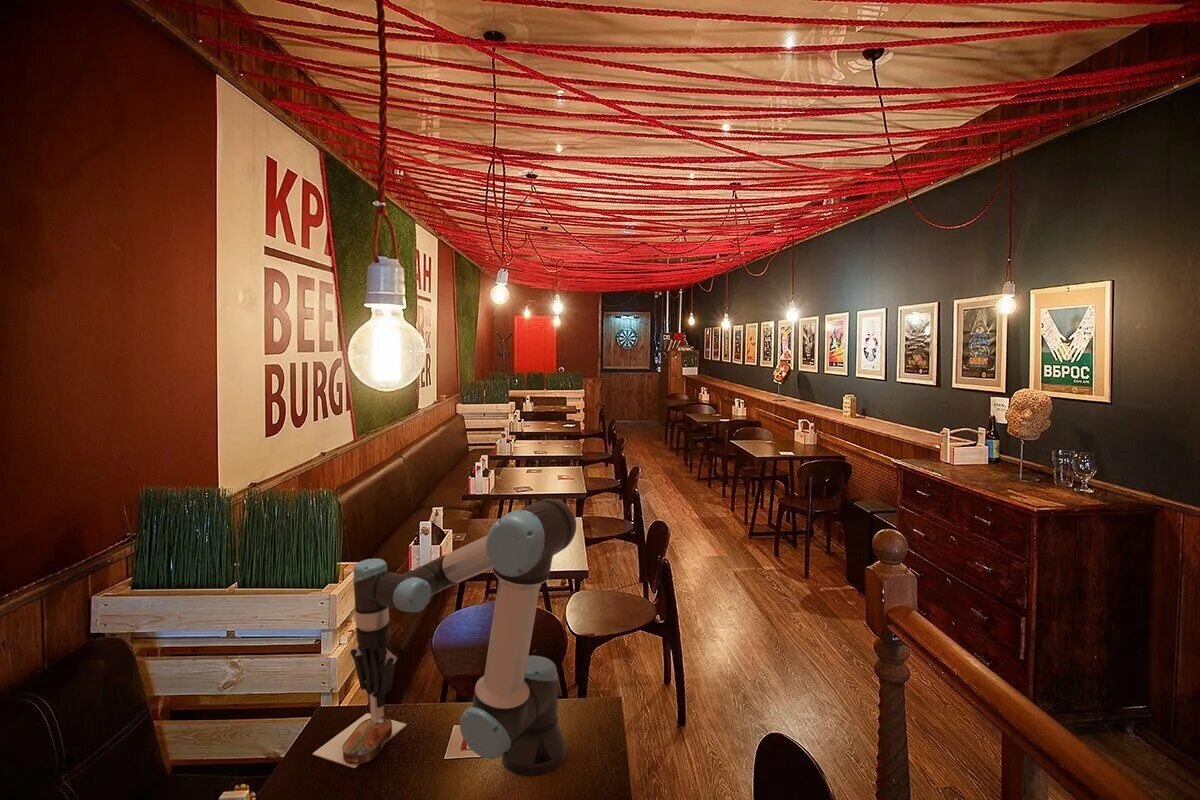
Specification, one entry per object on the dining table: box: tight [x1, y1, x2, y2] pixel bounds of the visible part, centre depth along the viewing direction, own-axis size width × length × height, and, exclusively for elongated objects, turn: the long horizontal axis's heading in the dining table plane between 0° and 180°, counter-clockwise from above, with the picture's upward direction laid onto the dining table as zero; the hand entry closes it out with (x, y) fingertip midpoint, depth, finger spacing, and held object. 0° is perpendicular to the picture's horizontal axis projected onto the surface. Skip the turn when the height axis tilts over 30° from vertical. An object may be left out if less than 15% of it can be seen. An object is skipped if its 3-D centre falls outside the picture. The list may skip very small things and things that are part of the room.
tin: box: [342, 716, 392, 765], centre depth 159 cm, size 15×3×8 cm
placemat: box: [312, 713, 407, 769], centre depth 161 cm, size 13×18×1 cm
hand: (377, 717), depth 158 cm, fingers closed
